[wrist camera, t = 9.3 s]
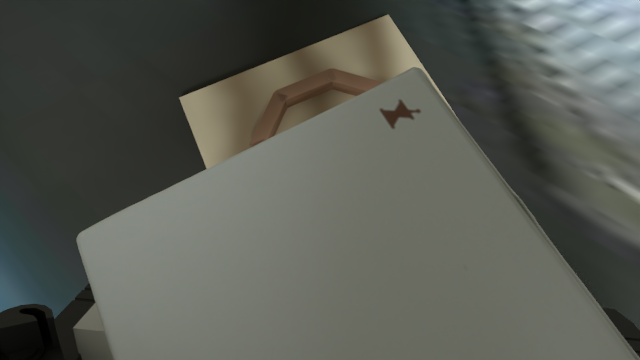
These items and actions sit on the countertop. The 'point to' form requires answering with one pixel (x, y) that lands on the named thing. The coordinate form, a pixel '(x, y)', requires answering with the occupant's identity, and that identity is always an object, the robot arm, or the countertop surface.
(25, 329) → the robot arm
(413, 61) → the collar board
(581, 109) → the countertop surface
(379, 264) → the supplement box
